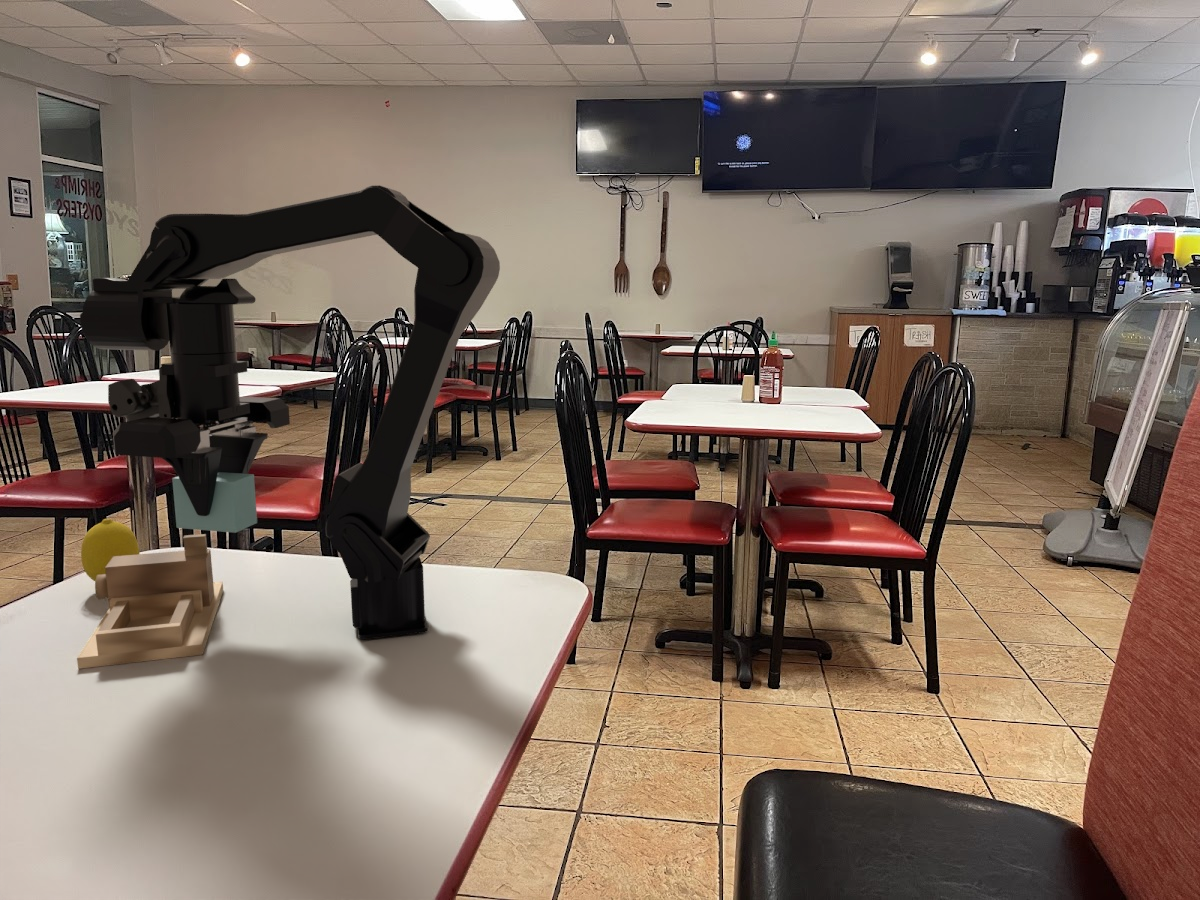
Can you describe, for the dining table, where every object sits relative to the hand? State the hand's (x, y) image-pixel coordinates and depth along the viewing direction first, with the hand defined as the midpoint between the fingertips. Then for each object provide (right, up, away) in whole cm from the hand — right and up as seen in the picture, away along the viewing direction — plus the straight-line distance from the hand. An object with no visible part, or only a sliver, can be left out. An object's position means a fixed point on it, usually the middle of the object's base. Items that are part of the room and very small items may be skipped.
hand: (216, 510), depth 84 cm
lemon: (-16, -10, +10) cm, 21 cm away
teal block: (0, -2, 0) cm, 2 cm away
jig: (-6, -11, 0) cm, 13 cm away
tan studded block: (-6, -10, +3) cm, 12 cm away
